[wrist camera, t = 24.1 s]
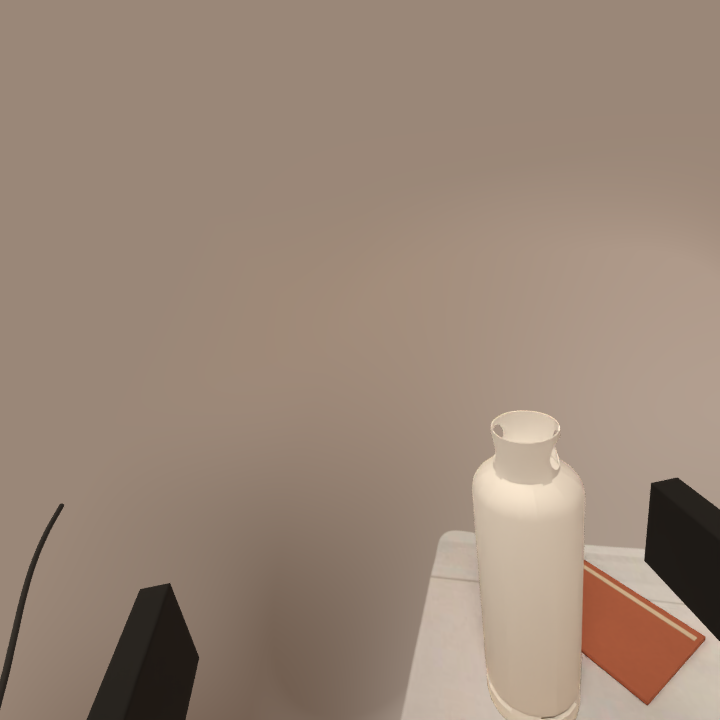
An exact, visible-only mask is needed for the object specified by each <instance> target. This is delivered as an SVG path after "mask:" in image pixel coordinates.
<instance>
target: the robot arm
mask: <svg viewBox="0 0 720 720" xmlns="http://www.w3.org/2000/svg"><path fill="white" fill-rule="evenodd" d="M650 492H651V493H650V502H649V515H648V525H647V537H646V548H645V559H644V561H645V562H646V563H647V564H648V565H649V566H650V567H651V568H652V569H653V570H654V571H655V572H656V574H657V575H658V576H659V577H660V578H661V579H662V580H663V581H664V582H665V583H666V584H667V585H668V586H669V587H670V589H671V590H672V591H673V592H674V593H675V594H676V595H677V596H678V597H679V598H680V599H681V600H682V601H683V602H684V604H685V605H686V606H687V607H688V608H689V609H690V610H691V611H692V612H693V613H694V614H695V615H696V616H697V617H698V619H699V620H700V621H701V622H702V623H703V624H704V625H705V626H706V627H707V628H708V629H709V630H710V631H711V633H712V634H713V635H714V636H715V637H716V638H717V639H718V640H719V641H720V509H718V508H717V507H716V506H714V505H713V504H712V503H710V502H709V501H708V500H706V499H705V498H704V497H702V496H701V495H700V494H698V493H697V492H696V491H695V490H693V489H692V488H691V487H689V486H688V485H686V484H685V483H684V482H683V481H681V480H680V479H679V478H673V479H669V480H664V481H659V482H654V483H651V491H650ZM63 507H64V504H60V505H59V507H58V508H57V510H56V512H55V513H54V515H53V517H52V518H51V520H50V522H49V524H48V526H47V527H46V530H45V531H44V533H43V536H42V537H41V540H40V542H39V544H38V546H37V549H36V551H35V553H34V556H33V558H32V561H31V564H30V566H29V569H28V572H27V576H26V579H25V582H24V585H23V589H22V593H21V596H20V600H19V604H18V608H17V612H16V616H15V620H14V625H13V629H12V633H11V637H10V642H9V646H8V650H7V654H6V659H5V663H4V667H3V672H2V675H1V679H0V708H1V704H2V700H3V696H4V693H5V689H6V685H7V681H8V677H9V673H10V668H11V664H12V660H13V655H14V650H15V646H16V641H17V637H18V633H19V628H20V623H21V619H22V614H23V609H24V605H25V601H26V597H27V593H28V590H29V586H30V582H31V579H32V575H33V572H34V569H35V566H36V563H37V561H38V558H39V555H40V552H41V550H42V548H43V545H44V543H45V541H46V539H47V536H48V534H49V532H50V530H51V528H52V526H53V524H54V523H55V521H56V519H57V517H58V516H59V514H60V512H61V510H62V509H63ZM198 660H199V656H198V653H197V651H196V648H195V646H194V644H193V641H192V638H191V636H190V633H189V630H188V628H187V625H186V623H185V620H184V618H183V615H182V612H181V610H180V607H179V605H178V602H177V600H176V597H175V595H174V592H173V590H172V587H171V584H170V583H169V584H163V585H158V586H154V587H149V588H144V589H140V591H139V593H138V596H137V598H136V601H135V603H134V605H133V608H132V610H131V613H130V615H129V618H128V620H127V622H126V625H125V627H124V630H123V632H122V635H121V637H120V639H119V642H118V644H117V647H116V649H115V652H114V654H113V657H112V659H111V662H110V664H109V666H108V669H107V671H106V674H105V676H104V679H103V681H102V683H101V686H100V688H99V691H98V693H97V696H96V698H95V701H94V703H93V705H92V708H91V710H90V713H89V715H88V718H87V720H185V719H186V714H187V710H188V706H189V701H190V697H191V692H192V687H193V683H194V679H195V674H196V670H197V664H198Z"/></svg>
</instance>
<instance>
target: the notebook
mask: <svg viewBox="0 0 720 720" xmlns="http://www.w3.org/2000/svg"><path fill="white" fill-rule="evenodd" d="M704 640H705V636H703V635H702V634H700V633H699V632H697V631H695V630H694V629H692V628H691V627H689V626H688V625H686V624H684V623H683V622H681V621H680V620H678V619H677V618H675V617H673V616H672V615H670V614H669V613H667V612H666V611H664V610H662V609H661V608H659V607H658V606H656V605H655V604H653V603H651V602H650V601H648V600H647V599H645V598H644V597H642V596H640V595H639V594H637V593H636V592H634V591H633V590H631V589H629V588H628V587H626V586H625V585H623V584H621V583H620V582H618V581H617V580H615V579H614V578H612V577H610V576H609V575H607V574H606V573H604V572H603V571H601V570H599V569H598V568H596V567H595V566H593V565H592V564H590V563H588V562H587V561H585V560H584V568H583V607H582V646H581V652H583V653H584V654H585V655H586V656H588V657H589V658H590V659H591V660H592V661H594V662H595V663H596V664H597V665H599V666H600V667H601V668H602V669H603V670H605V671H606V672H607V673H608V674H610V675H611V676H612V677H613V678H614V679H616V680H617V681H618V682H619V683H621V684H622V685H623V686H624V687H625V688H627V689H628V690H629V691H630V692H632V693H633V694H634V695H635V696H636V697H638V698H639V699H640V700H641V701H643V702H644V703H645V704H646V705H648V704H649V703H650V702H651V701H652V700H653V699H654V698H655V696H656V695H657V694H658V693H659V692H660V691H661V690H662V688H663V687H664V686H665V685H666V684H667V683H668V682H669V680H670V679H671V678H672V677H673V676H674V675H675V674H676V672H677V671H678V670H679V669H680V668H681V667H682V666H683V664H684V663H685V662H686V661H687V660H688V659H689V658H690V656H691V655H692V654H693V653H694V652H695V651H696V650H697V648H698V647H699V646H700V645H701V644H702V643H703V642H704Z"/></svg>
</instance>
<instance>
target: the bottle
mask: <svg viewBox="0 0 720 720" xmlns="http://www.w3.org/2000/svg"><path fill="white" fill-rule="evenodd" d="M496 425H499V426H501V428H502V430H503V437H500V436H499V435H497V434H496V433H495V432H494V431H493V429H494V427H495V426H496ZM556 430H558V432H557V433H556V435H554V434H555V431H556ZM491 436H492V438H493V443H494V447H495V451H496V452H495V454H494V456H492V457H490V458H489V459H488V460H486V461H485V462H483V463H482V464H481V465H480V467H479V468H478V470H477V471H476V473H475V475H474V477H473V484H472V495H473V507H474V520H475V533H476V545H477V558H478V570H479V583H480V596H481V608H482V621H483V633H484V646H485V659H486V668H487V684H488V689H489V692H490V696H491V700H492V701H493V703H494V704H495V706H496V708H497V709H498V711H499V713H500V714H501V715H502V716H503V717H504V718H506V719H507V720H575V718H576V717H577V714H578V710H579V705H580V683H581V646H582V607H583V568H584V528H585V491H584V486H583V483H582V481H581V479H580V477H579V476H578V474H577V473H576V472H575V470H574V469H573V468H572V467H571V466H570V465H568V464H567V463H565V462H564V461H562V460H561V459H559V456H558V454H557V451H556V447H555V444H556V443H557V441H558V439H559V438H560V425H559V423H558V422H557V421H556V420H555V419H554V418H553V417H551V416H549V415H547V414H544V413H540V412H536V411H529V410H527V411H526V410H518V411H512V412H507V413H504V414H501V415H499V416H497V417H496V418H495V419H494V420H493V421H492V423H491ZM509 705H510V706H511V707H512V708H511V707H510V706H509ZM559 714H560V715H559ZM557 715H558V716H557ZM552 716H556V717H553V718H545V719H541V718H544V717H552Z"/></svg>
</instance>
